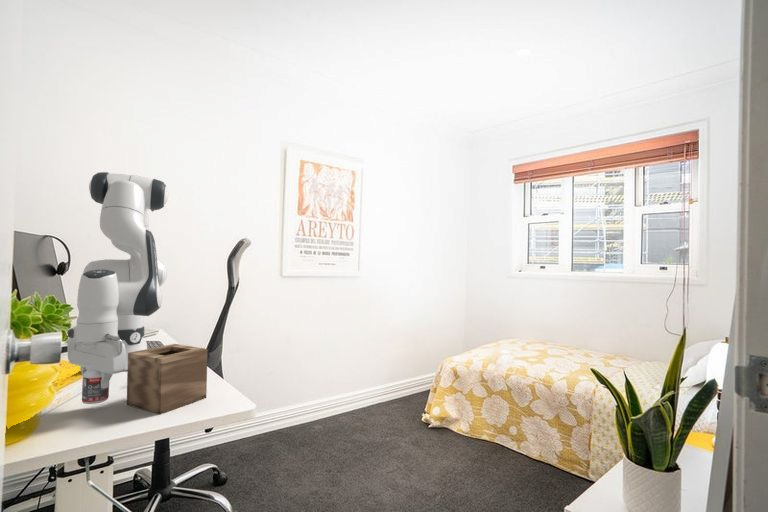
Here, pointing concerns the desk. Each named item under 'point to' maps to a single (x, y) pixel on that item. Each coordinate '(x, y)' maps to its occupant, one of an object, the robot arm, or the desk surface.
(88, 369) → the pill bottle
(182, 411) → the desk surface
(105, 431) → the desk surface
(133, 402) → the slot box
